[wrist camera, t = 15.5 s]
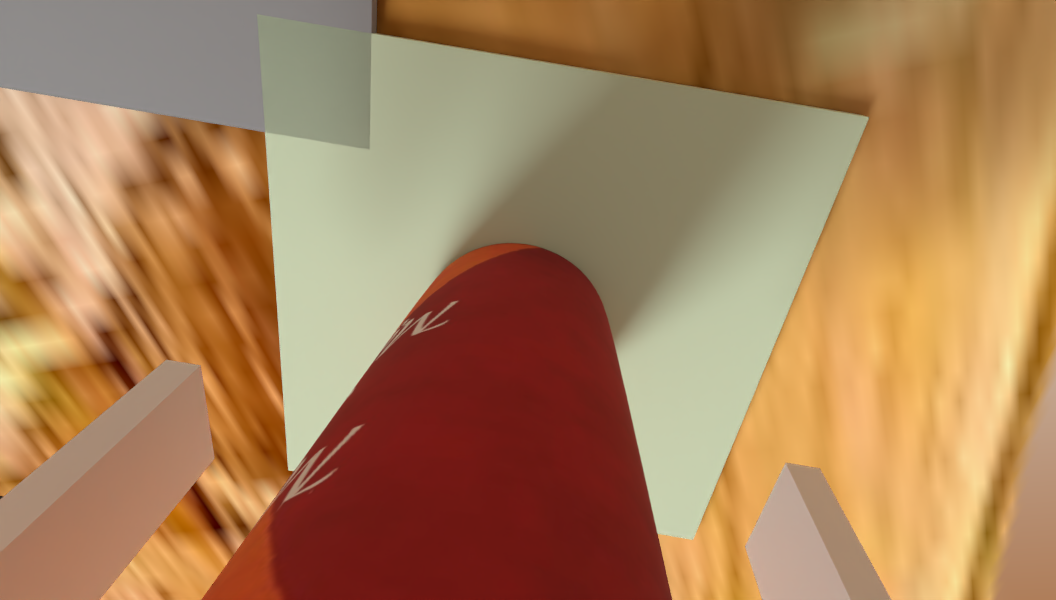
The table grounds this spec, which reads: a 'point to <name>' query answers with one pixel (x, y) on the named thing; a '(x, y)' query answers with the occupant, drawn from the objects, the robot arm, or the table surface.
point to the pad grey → (176, 55)
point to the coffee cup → (471, 458)
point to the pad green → (548, 224)
